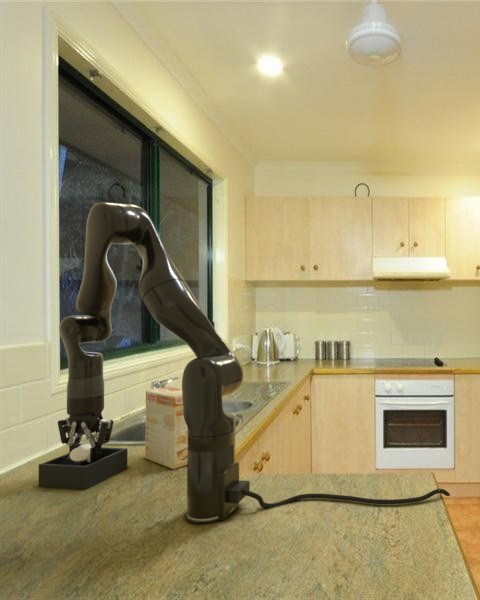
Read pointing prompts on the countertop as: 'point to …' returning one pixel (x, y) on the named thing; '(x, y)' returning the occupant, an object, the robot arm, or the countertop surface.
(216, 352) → the robot arm
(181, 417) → the coffeecake box
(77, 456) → the dumpling
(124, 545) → the countertop surface
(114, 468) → the basin
